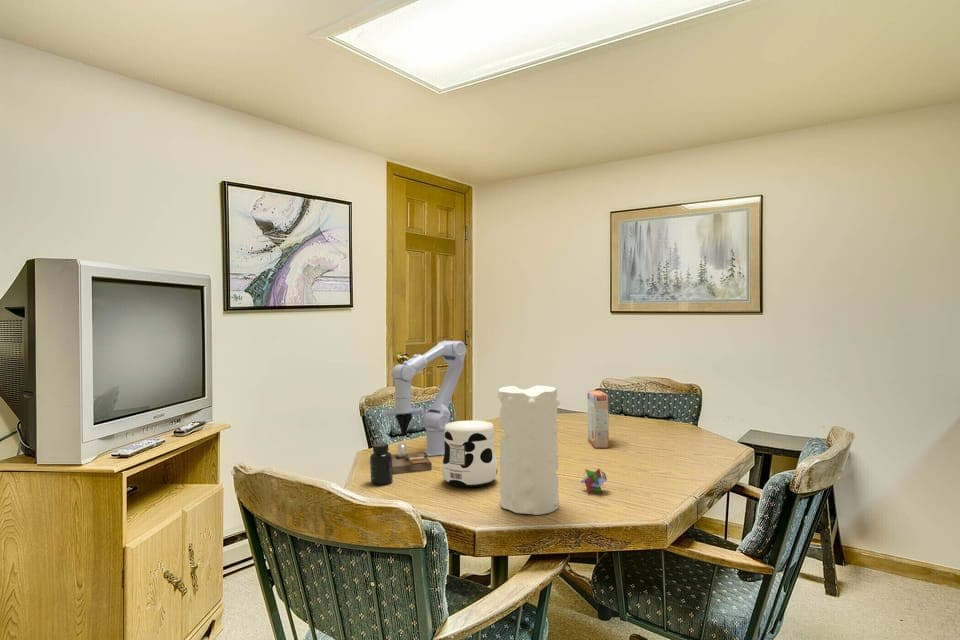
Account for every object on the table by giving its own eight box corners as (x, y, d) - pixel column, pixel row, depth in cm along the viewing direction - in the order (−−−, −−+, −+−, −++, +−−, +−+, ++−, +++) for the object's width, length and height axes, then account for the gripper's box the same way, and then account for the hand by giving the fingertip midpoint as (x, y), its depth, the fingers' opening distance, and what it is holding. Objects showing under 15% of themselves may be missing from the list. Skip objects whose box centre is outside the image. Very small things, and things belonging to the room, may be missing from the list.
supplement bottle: (384, 478, 174) (383, 441, 174) (396, 482, 169) (396, 444, 169) (366, 483, 169) (365, 444, 169) (378, 487, 164) (377, 448, 164)
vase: (567, 515, 138) (565, 391, 138) (504, 518, 137) (502, 393, 137) (552, 494, 155) (551, 383, 155) (496, 496, 154) (495, 385, 154)
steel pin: (404, 462, 193) (404, 443, 193) (407, 464, 190) (407, 444, 190) (396, 463, 191) (396, 444, 191) (399, 465, 189) (399, 445, 189)
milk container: (491, 473, 178) (490, 418, 178) (502, 489, 161) (501, 428, 161) (439, 476, 175) (438, 421, 175) (445, 493, 158) (444, 432, 158)
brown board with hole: (421, 458, 198) (421, 448, 198) (431, 470, 183) (431, 459, 183) (383, 462, 193) (383, 452, 193) (390, 474, 178) (390, 463, 178)
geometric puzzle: (590, 491, 151) (601, 465, 154) (572, 485, 157) (583, 460, 159) (604, 502, 155) (614, 476, 157) (586, 495, 160) (596, 471, 163)
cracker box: (609, 448, 208) (609, 394, 208) (594, 448, 209) (593, 394, 209) (602, 440, 222) (601, 389, 222) (587, 440, 223) (586, 390, 223)
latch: (423, 458, 188) (423, 454, 188) (427, 462, 182) (427, 457, 182) (409, 460, 186) (409, 456, 186) (412, 463, 181) (412, 459, 181)
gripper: (420, 394, 201) (421, 431, 201) (381, 397, 197) (382, 434, 197) (424, 397, 195) (425, 434, 195) (384, 400, 190) (385, 438, 190)
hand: (403, 435), depth 195 cm, fingers closed
